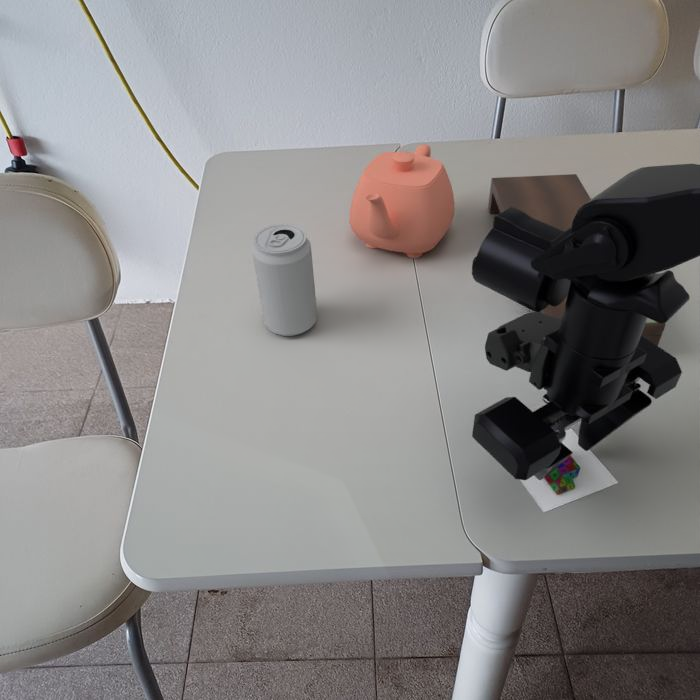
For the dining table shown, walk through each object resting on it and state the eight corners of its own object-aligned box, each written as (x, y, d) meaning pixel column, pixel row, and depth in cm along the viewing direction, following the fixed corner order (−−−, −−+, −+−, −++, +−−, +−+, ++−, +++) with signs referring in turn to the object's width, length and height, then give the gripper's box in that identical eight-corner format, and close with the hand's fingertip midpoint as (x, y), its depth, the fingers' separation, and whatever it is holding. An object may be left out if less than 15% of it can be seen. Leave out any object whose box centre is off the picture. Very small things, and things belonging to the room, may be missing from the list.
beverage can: (326, 313, 78) (320, 227, 70) (301, 345, 74) (292, 259, 66) (281, 300, 80) (269, 216, 72) (254, 331, 76) (239, 246, 68)
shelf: (569, 205, 95) (576, 172, 91) (652, 359, 71) (666, 322, 67) (487, 208, 95) (491, 176, 91) (542, 364, 71) (551, 327, 67)
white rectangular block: (501, 454, 62) (504, 437, 60) (571, 428, 64) (576, 411, 62) (543, 512, 57) (548, 495, 55) (618, 482, 59) (625, 465, 57)
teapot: (324, 268, 85) (318, 184, 77) (383, 197, 98) (383, 119, 90) (419, 291, 81) (423, 205, 73) (467, 214, 94) (475, 133, 86)
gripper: (601, 246, 58) (567, 371, 68) (435, 323, 51) (426, 449, 61) (712, 310, 51) (655, 438, 61) (537, 411, 44) (507, 536, 54)
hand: (560, 461), depth 60 cm, fingers open, 6 cm apart
